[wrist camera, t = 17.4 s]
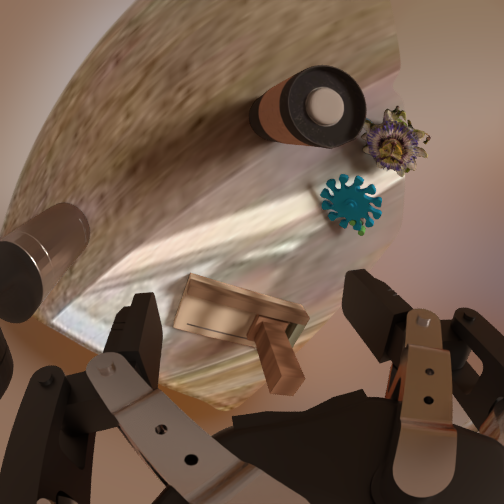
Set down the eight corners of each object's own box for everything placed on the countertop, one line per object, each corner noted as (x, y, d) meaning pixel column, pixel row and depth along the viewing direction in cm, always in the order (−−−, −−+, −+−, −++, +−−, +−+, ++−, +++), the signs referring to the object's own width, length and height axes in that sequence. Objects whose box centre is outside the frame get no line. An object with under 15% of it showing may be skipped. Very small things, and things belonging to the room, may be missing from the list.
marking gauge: (244, 338, 51) (259, 400, 38) (257, 311, 49) (278, 371, 36) (271, 344, 53) (292, 403, 40) (286, 318, 51) (313, 376, 38)
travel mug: (257, 85, 37) (304, 48, 19) (304, 105, 40) (378, 90, 21) (239, 131, 40) (272, 127, 22) (287, 149, 42) (351, 163, 24)
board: (174, 320, 50) (172, 336, 46) (190, 272, 47) (190, 285, 43) (278, 345, 56) (284, 360, 52) (302, 304, 53) (309, 318, 49)
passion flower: (351, 146, 49) (345, 127, 38) (389, 108, 45) (391, 81, 34) (396, 190, 47) (403, 182, 36) (433, 151, 43) (448, 133, 32)
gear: (310, 181, 43) (374, 175, 37) (321, 164, 46) (379, 157, 40) (330, 238, 49) (387, 238, 43) (339, 217, 52) (391, 216, 46)
